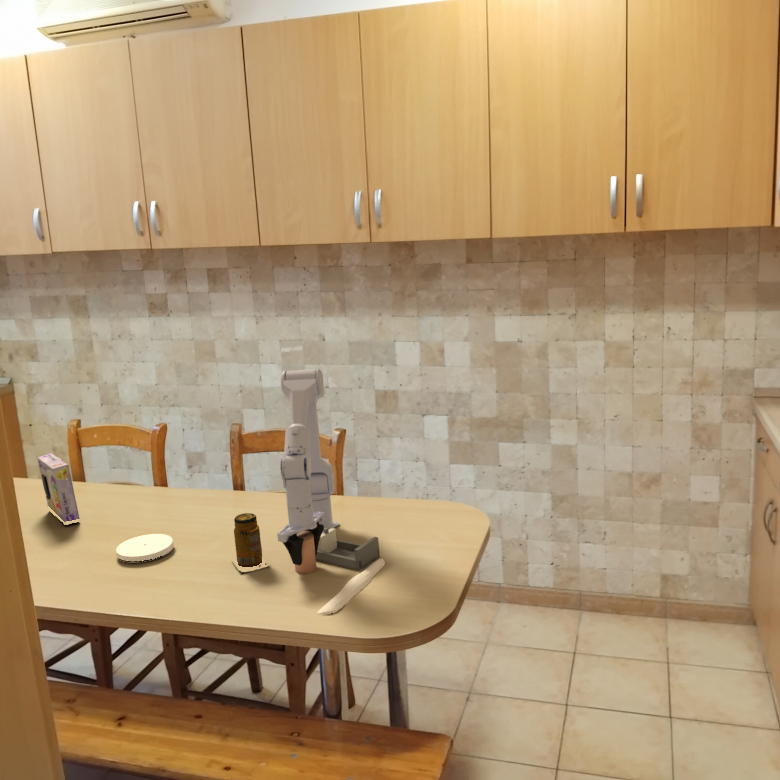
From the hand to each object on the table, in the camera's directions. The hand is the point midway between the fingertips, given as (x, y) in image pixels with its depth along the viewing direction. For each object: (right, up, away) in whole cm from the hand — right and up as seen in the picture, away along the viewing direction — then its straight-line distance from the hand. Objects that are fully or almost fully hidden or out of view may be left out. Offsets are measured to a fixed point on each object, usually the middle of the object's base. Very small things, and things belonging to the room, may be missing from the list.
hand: (305, 559), depth 186 cm
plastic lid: (-42, -2, +16) cm, 45 cm away
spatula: (+12, -5, -10) cm, 16 cm away
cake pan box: (-76, +2, +46) cm, 89 cm away
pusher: (+5, 0, +8) cm, 9 cm away
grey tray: (+7, -1, +6) cm, 10 cm away
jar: (0, -2, +1) cm, 2 cm away
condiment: (-14, -3, +5) cm, 15 cm away
